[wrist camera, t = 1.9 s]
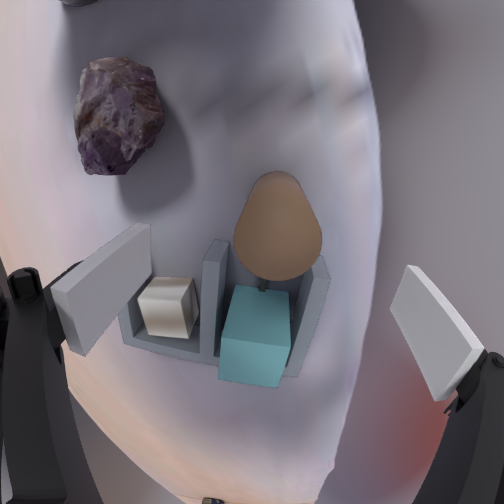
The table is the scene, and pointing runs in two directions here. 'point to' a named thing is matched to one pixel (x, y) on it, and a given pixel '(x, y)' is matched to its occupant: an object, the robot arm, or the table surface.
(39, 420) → the robot arm
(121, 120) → the rock
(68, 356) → the table surface
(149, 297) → the cream cube
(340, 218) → the table surface
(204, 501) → the canister
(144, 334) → the lane rack
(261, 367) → the block
